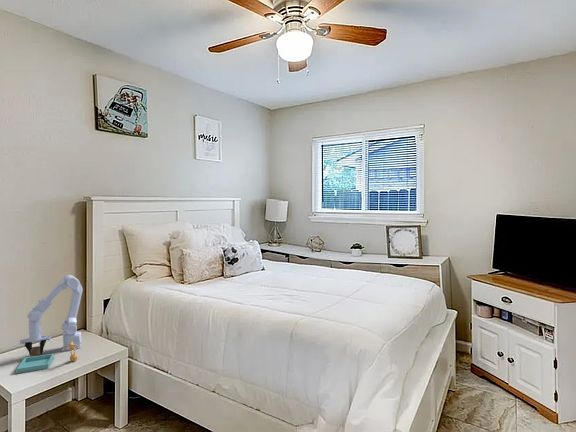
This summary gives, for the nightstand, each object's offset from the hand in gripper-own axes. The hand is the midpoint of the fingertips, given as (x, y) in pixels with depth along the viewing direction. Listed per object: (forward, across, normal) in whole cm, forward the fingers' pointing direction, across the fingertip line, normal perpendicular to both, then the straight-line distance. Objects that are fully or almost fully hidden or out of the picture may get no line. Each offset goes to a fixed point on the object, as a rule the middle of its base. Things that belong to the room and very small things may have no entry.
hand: (36, 354), depth 206 cm
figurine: (+2, -21, +16) cm, 26 cm away
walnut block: (+1, 0, 0) cm, 1 cm away
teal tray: (+1, -3, +13) cm, 13 cm away
